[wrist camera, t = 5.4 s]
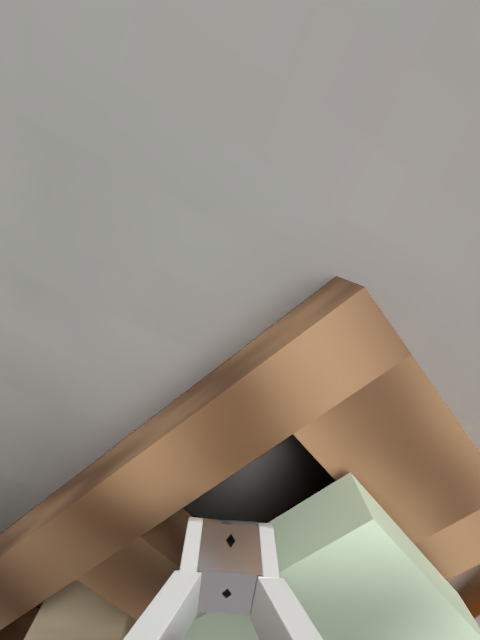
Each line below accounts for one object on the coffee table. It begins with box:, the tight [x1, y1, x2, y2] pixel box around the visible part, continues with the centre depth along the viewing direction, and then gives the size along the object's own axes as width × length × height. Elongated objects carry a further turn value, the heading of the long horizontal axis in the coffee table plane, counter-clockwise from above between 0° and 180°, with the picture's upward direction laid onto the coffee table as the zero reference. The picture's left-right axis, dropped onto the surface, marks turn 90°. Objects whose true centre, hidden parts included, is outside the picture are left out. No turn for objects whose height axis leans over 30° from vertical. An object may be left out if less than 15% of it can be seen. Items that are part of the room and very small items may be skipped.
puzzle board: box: [0, 277, 480, 640], centre depth 14 cm, size 28×14×2 cm, turn 129°
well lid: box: [183, 472, 480, 640], centre depth 11 cm, size 10×9×3 cm
